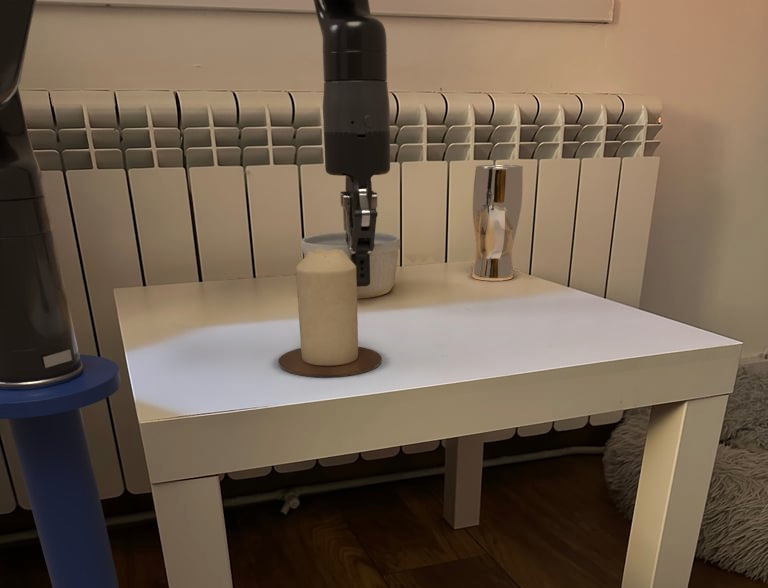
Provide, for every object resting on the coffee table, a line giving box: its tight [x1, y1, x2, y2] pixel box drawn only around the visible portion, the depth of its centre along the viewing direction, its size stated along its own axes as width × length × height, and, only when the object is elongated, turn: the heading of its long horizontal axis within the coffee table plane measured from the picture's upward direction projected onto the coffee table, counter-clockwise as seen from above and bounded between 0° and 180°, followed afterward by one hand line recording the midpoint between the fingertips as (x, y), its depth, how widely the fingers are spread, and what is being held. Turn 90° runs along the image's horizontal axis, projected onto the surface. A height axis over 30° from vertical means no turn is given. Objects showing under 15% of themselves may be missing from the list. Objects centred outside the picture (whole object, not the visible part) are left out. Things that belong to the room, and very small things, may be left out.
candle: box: [295, 248, 359, 366], centre depth 68 cm, size 6×6×10 cm
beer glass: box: [471, 164, 524, 282], centre depth 105 cm, size 7×7×15 cm
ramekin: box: [300, 231, 401, 300], centre depth 98 cm, size 13×13×7 cm
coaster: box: [277, 346, 383, 378], centre depth 71 cm, size 10×10×1 cm
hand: (360, 285), depth 91 cm, fingers closed
